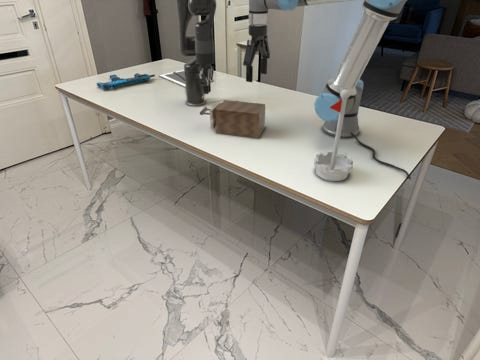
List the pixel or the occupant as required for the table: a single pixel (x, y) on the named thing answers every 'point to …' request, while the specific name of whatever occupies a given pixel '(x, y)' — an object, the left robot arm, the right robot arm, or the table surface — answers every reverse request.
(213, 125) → the drawer
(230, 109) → the cabinet
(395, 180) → the table surface
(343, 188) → the table surface
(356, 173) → the table surface
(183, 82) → the tablet
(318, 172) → the flag stand
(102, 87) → the submachine gun
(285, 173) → the table surface
